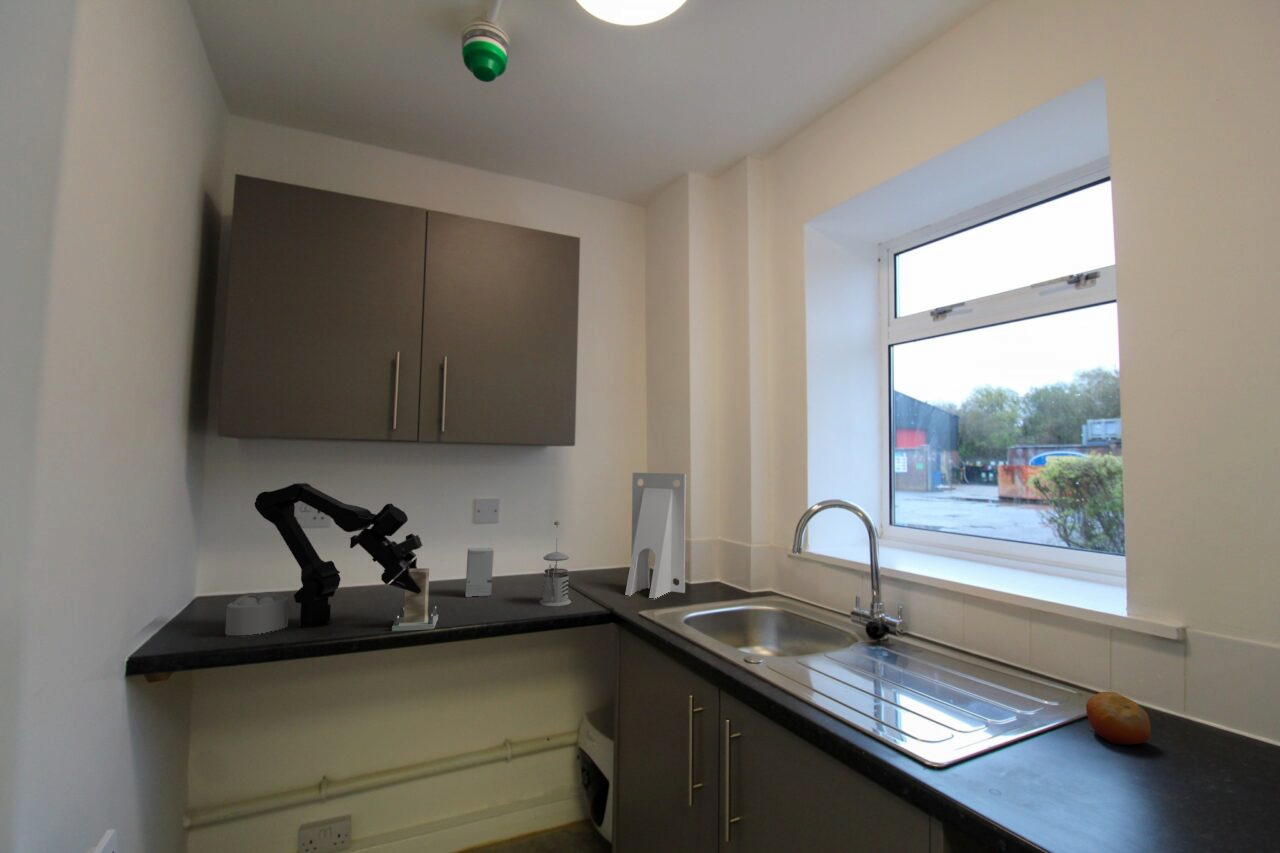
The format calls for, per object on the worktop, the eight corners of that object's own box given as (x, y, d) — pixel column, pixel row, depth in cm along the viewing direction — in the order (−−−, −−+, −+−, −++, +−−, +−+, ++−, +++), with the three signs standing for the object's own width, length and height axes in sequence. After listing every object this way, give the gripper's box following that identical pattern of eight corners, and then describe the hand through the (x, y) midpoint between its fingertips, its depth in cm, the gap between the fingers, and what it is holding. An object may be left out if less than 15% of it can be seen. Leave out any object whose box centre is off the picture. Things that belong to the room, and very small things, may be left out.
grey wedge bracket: (612, 594, 191) (614, 472, 194) (632, 586, 204) (633, 472, 206) (667, 601, 182) (669, 474, 185) (684, 592, 195) (685, 473, 198)
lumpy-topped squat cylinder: (292, 626, 149) (294, 592, 150) (238, 639, 138) (240, 602, 139) (270, 620, 154) (271, 588, 155) (215, 633, 143) (217, 597, 144)
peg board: (392, 631, 146) (392, 616, 147) (399, 620, 156) (399, 606, 156) (433, 629, 149) (434, 614, 149) (438, 618, 158) (438, 605, 159)
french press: (574, 599, 183) (575, 519, 185) (566, 608, 172) (567, 523, 173) (544, 597, 184) (545, 519, 186) (533, 606, 173) (535, 522, 174)
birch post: (404, 623, 150) (406, 572, 150) (407, 617, 154) (409, 568, 155) (424, 622, 151) (426, 571, 151) (427, 617, 155) (429, 568, 156)
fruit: (1110, 714, 99) (1130, 682, 95) (1147, 759, 92) (1170, 727, 88) (1064, 714, 99) (1082, 682, 95) (1098, 759, 92) (1119, 727, 88)
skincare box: (465, 597, 183) (466, 550, 184) (465, 593, 189) (466, 547, 190) (492, 596, 186) (493, 549, 187) (491, 592, 191) (492, 546, 192)
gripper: (397, 529, 144) (442, 572, 146) (409, 521, 162) (449, 560, 164) (361, 562, 142) (407, 605, 144) (378, 550, 160) (418, 589, 162)
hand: (422, 588), depth 153 cm, fingers open, 9 cm apart
